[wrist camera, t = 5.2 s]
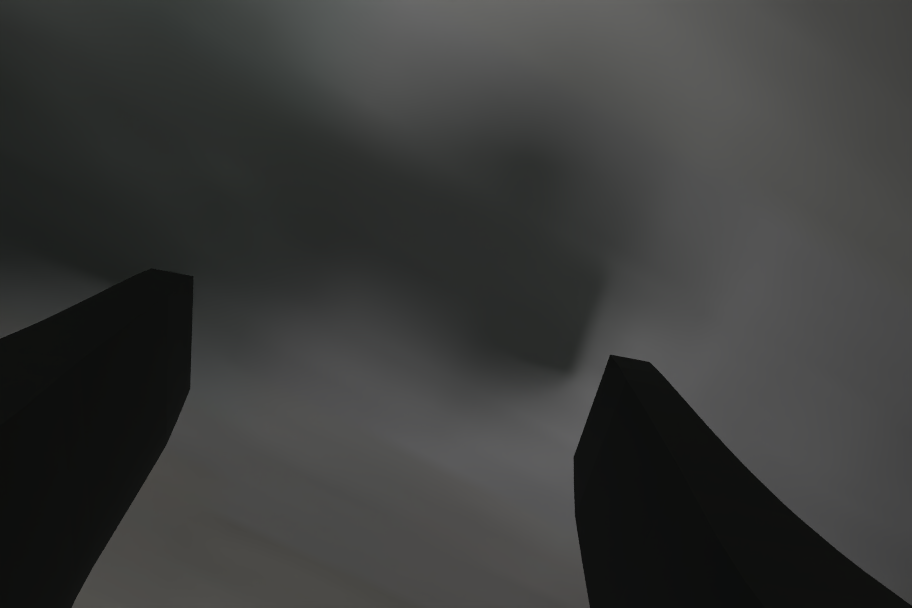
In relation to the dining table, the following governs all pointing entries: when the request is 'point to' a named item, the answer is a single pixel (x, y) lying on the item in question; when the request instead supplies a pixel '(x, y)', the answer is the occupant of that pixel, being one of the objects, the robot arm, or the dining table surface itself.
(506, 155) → the dining table surface
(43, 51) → the dining table surface
